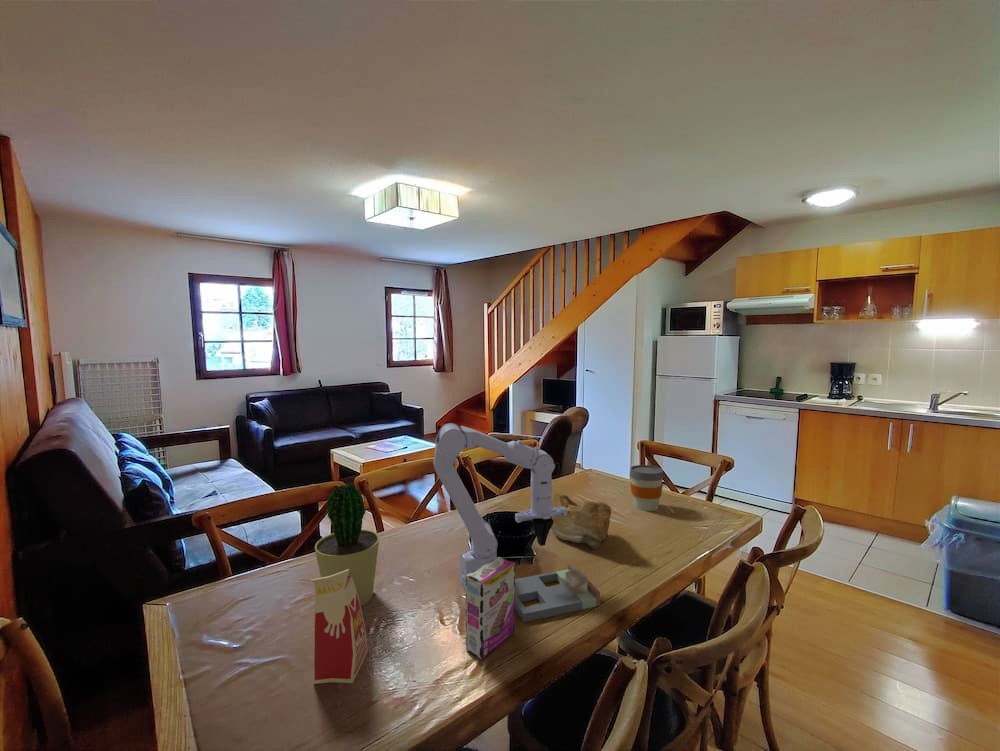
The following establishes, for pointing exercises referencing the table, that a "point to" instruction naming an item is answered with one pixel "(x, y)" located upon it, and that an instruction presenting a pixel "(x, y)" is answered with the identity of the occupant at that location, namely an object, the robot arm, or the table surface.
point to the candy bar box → (489, 606)
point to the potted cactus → (349, 542)
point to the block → (576, 582)
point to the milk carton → (338, 630)
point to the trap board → (551, 596)
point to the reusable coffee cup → (646, 486)
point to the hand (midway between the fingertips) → (541, 544)
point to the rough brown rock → (581, 521)
